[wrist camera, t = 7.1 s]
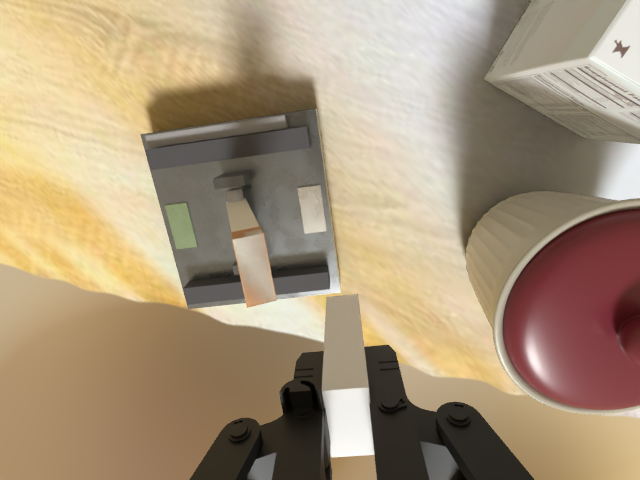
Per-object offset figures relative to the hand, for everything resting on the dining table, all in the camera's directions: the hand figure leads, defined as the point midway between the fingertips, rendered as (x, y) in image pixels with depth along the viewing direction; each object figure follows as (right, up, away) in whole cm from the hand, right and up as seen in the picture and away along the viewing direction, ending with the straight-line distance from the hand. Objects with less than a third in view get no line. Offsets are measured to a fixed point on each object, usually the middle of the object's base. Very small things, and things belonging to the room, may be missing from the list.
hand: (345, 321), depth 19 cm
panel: (-9, +7, +26) cm, 28 cm away
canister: (+22, +3, +26) cm, 34 cm away
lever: (-9, +5, +21) cm, 23 cm away
